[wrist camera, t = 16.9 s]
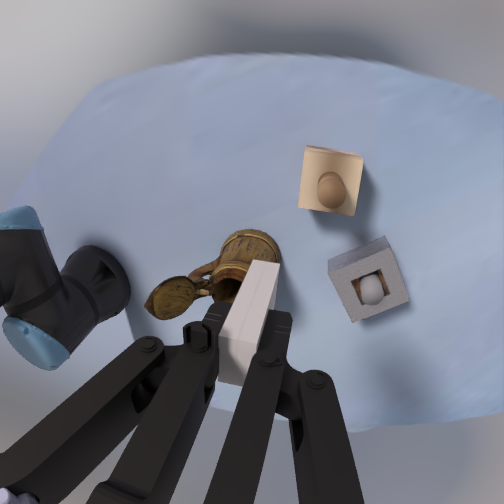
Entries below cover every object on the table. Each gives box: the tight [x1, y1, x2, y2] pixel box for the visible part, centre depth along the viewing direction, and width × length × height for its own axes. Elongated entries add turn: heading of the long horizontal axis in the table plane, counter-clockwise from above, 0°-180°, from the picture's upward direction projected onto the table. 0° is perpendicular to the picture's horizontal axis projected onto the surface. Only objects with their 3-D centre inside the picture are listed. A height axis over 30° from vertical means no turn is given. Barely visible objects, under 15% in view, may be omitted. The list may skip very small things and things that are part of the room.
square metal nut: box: [328, 236, 410, 323], centre depth 43 cm, size 9×9×4 cm
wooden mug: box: [144, 229, 281, 320], centre depth 42 cm, size 9×14×18 cm, turn 81°
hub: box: [354, 269, 385, 305], centre depth 43 cm, size 7×7×8 cm
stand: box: [298, 145, 364, 216], centre depth 37 cm, size 7×7×11 cm
